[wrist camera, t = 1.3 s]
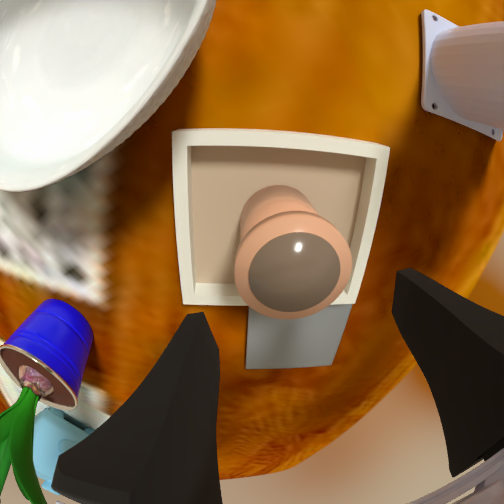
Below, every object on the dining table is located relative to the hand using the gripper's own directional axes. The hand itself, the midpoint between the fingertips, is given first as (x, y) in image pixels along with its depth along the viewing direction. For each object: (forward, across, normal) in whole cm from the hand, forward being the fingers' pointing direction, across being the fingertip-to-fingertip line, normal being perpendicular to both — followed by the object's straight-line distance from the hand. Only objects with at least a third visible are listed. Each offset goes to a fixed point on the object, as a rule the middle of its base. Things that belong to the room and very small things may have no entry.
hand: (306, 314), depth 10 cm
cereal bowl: (+9, +9, -15) cm, 20 cm away
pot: (+9, 0, 0) cm, 9 cm away
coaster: (+9, 0, +10) cm, 14 cm away
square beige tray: (+9, 0, 0) cm, 9 cm away
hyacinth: (+9, +20, +6) cm, 23 cm away
